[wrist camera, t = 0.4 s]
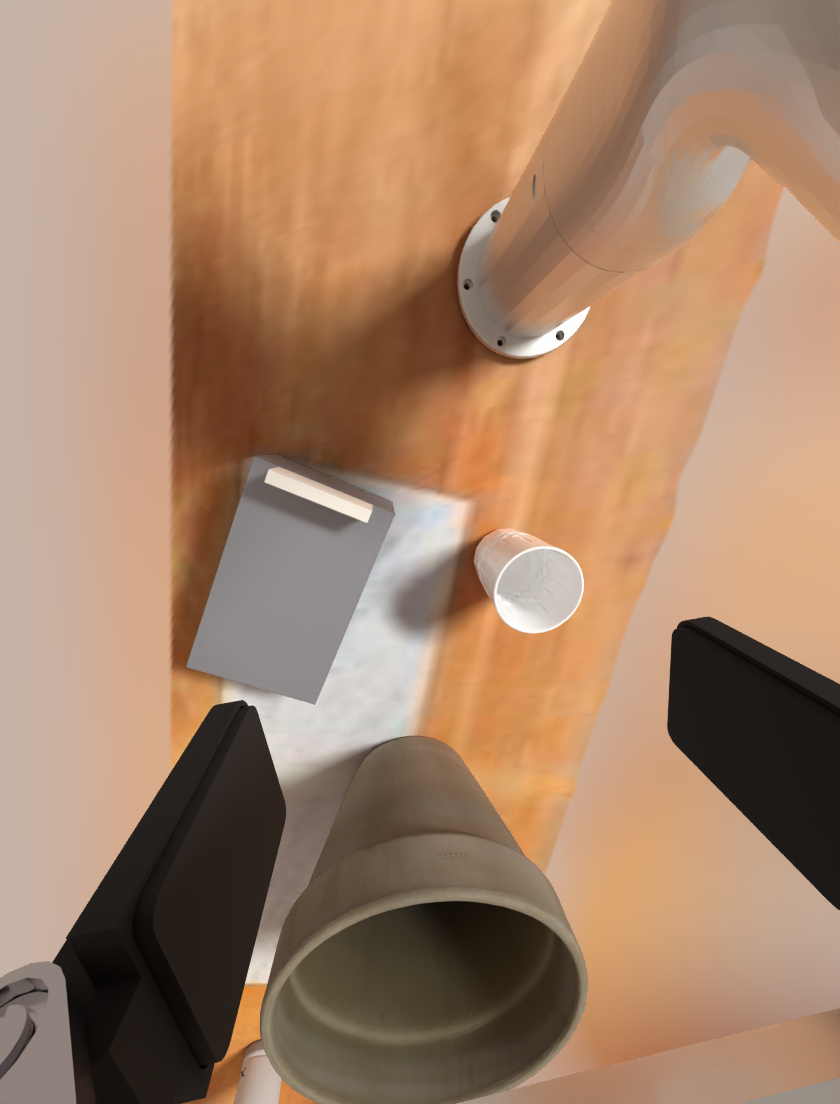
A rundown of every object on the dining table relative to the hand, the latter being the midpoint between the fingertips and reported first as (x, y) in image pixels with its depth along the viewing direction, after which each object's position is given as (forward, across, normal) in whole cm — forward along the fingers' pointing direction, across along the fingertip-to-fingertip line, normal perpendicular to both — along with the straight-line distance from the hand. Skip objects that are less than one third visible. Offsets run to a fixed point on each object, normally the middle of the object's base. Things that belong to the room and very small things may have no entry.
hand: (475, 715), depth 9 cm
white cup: (+33, -10, +8) cm, 35 cm away
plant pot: (+33, +4, +35) cm, 48 cm away
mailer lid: (+26, +11, +5) cm, 29 cm away
